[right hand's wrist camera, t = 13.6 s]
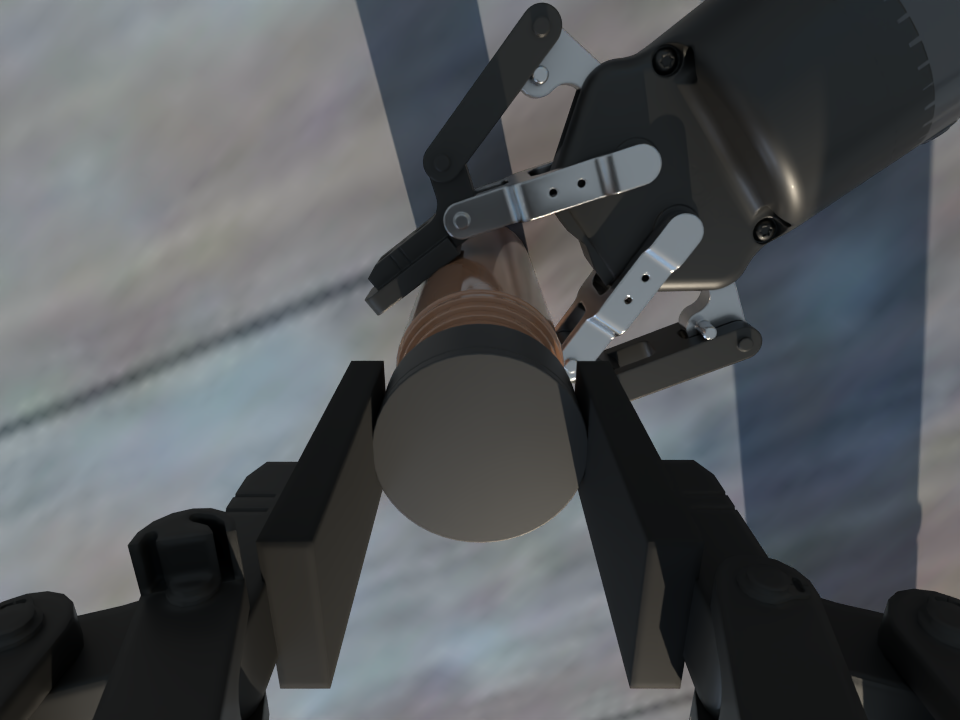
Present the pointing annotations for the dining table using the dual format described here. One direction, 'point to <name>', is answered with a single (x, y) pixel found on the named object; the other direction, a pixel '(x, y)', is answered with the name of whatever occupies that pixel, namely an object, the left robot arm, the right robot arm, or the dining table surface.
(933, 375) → the dining table surface
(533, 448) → the cap
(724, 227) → the left robot arm
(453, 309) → the bottle
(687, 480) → the right robot arm
